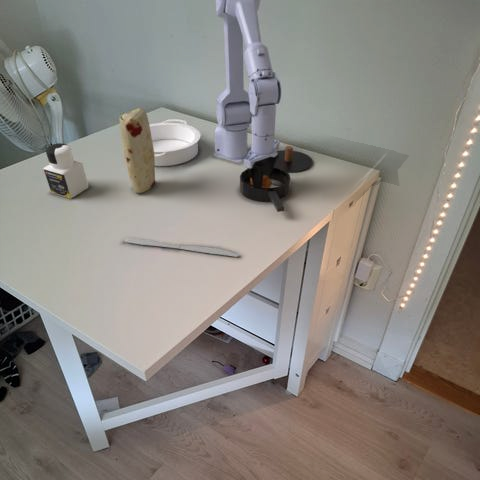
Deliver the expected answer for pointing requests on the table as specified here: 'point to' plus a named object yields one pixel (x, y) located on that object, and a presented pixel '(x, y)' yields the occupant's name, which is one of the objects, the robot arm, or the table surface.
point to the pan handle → (276, 201)
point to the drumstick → (265, 182)
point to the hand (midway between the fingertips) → (261, 183)
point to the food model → (138, 149)
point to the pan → (262, 193)
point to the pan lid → (293, 160)
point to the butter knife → (181, 247)
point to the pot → (174, 142)
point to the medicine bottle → (64, 171)
